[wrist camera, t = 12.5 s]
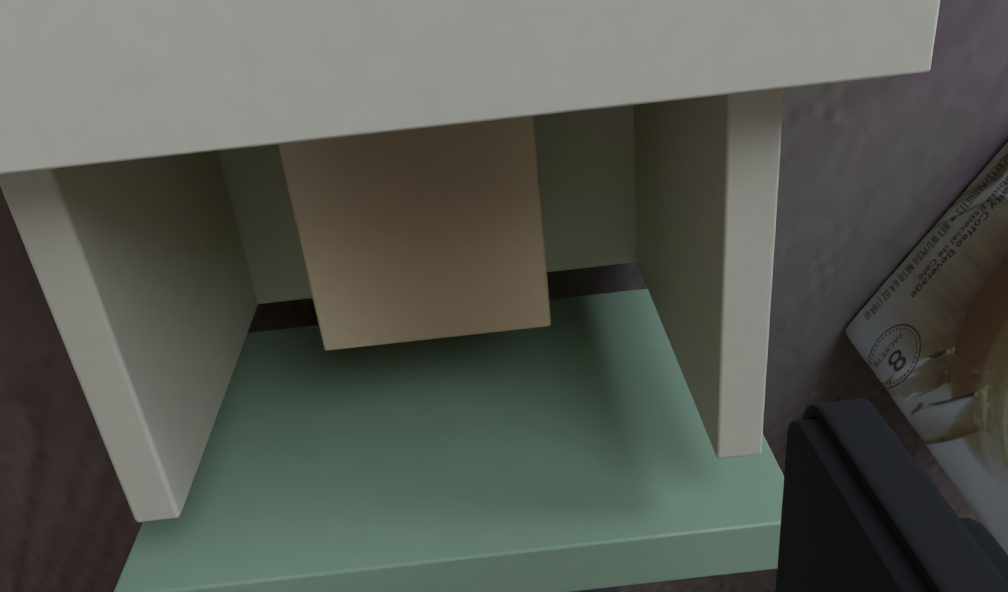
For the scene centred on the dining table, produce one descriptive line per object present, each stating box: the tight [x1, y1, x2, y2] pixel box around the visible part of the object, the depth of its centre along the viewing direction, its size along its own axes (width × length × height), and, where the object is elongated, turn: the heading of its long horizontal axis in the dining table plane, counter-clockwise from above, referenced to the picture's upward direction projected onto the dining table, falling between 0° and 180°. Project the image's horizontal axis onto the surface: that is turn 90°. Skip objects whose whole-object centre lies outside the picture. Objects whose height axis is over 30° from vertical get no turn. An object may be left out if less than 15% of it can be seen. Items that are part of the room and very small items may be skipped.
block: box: [277, 116, 551, 351], centre depth 18 cm, size 4×4×4 cm
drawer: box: [0, 88, 784, 592], centre depth 18 cm, size 19×13×9 cm, turn 5°
